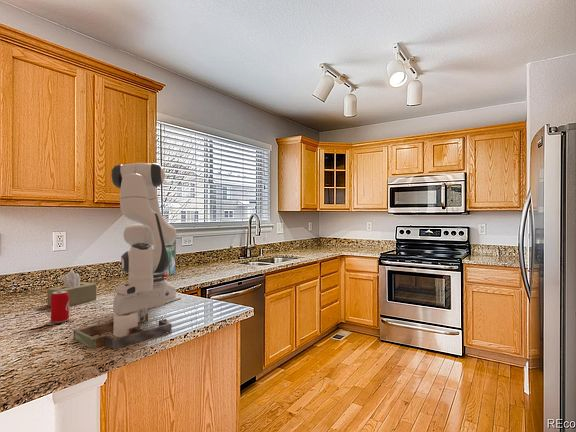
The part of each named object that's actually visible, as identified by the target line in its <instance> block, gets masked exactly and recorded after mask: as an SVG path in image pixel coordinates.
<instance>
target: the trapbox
mask: <svg viewBox="0 0 576 432" xmlns="http://www.w3.org/2000/svg"><path fill="white" fill-rule="evenodd" d="M141 314H142V313H139V316H141ZM148 320H149V312H147V314H146V316H145V320H144V321H140V322H138V324H139V323H143V322H147V321H148ZM167 321H168V320H167V318H163V319H160V320H158V323H157V325H158V326H155V327H152V328H148V329H141V328H142V327H141V326H140V325H138V326H137V327H133V328H130V329H129V335H127V336H123V337H117V338H115V337H112V336H110V335H107V334H105V335H101V336H96V337H93V335H97V334H100V333H105V332H110V331H113V326H114V320H111V321H107V322H102V323H99V324H95V325H90V326H86V327H82V328H77V329H74V330H73V340H75V341H77V342H79V343H81V344H83V345H84V346H87V347H88V348H90V349H92V350H93V349H96V348H99V347H103V346H106V347H108V348H110V349H112V350H116V349H120V348H122V347H125V346H129V345H133V344H136V343H140V342H142V341H146V340H149V339H152V337H153V338H155V336H156V337H159V336H162V335H165V334H164V333H166V334H168V333H167V332H169V333H171V332H170V331H172V325H173V324H172V323H170V322H167ZM161 334H162V335H161ZM158 335H159V336H158Z"/></svg>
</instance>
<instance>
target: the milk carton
mask: <svg viewBox="0 0 576 432" xmlns="http://www.w3.org/2000/svg"><path fill="white" fill-rule="evenodd" d="M176 240H177V239H176ZM176 240H175V242H174V243H173V244H171V245H166V246H165V247H166V250H167V253H168V257H169V266H168V268H167V269H166V270H165V271H164V272H162V273H164V274H165V273H166V274H169V276H172V275H174V274H176V256H177V255H176V254H177V252H176V247H177V245H176V244H177V241H176ZM173 273H174V274H173ZM171 274H172V275H171Z"/></svg>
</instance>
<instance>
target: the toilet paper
mask: <svg viewBox="0 0 576 432" xmlns="http://www.w3.org/2000/svg"><path fill="white" fill-rule="evenodd" d="M138 314H139V313H137V312H131V313H127V314H123V315H117V314H115V313H114V314H113V321H114V326H113V330H112V331H113V336H114V337H117V338H120V337H123V336H127V335H129V329H130V328H133V327H137V326H139V323H138Z"/></svg>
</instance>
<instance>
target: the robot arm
mask: <svg viewBox="0 0 576 432" xmlns="http://www.w3.org/2000/svg"><path fill="white" fill-rule="evenodd" d="M165 176H166V175H165V171H164V168H163V166H162V165H161V164H159V163H156V162H152V163H148V162H136V163H135V162H134V163H127V164H122V163H121V164H117V165H115V166H113V167H112V169H111V173H110V177H111V182H112V184H113V186H115V187H116V188H119V207H120V211H121V213H122V215H123V216H124V217H125V218H127V219H128V220H130V221H132V222H133V223H134V222H135V223H134V224H133V223H132V224H128V225H127V226H125V229H124V231H123V234H122V235H123V239H124V241H125V242H126V243H127V244H128V245H129V248H130V249H129V250H127V251H125V252H124V253H123V254H122V255H121V256H120V257H121V258H120V259H121V261H120V262H121V263H120V265H121V266H120V270H121V271H123V272H124V273H125V274H129V275H128V281H126V282H124V283H122V284H119V285H117V286H116V287H115V293H116V294H115V295H114V298H113V305H112V312H113V314H114V315H115V314H117V315H123V314H127V313H131V312H137V313H138V322H140V321H144V320H145V316H146V314H147V313H149V309H152V308H156V307H161V306H163V305H166V304H168V303H172V302H174V301H177V300H181V298H182V297H181V295H179V294H177V292H176V291H177V290H176V287H175V286H174V285H173V284H172V283H170V282H169V281H167V280H166V279H165V278H169V277H170V275H169V274H166V273H165V274H164V273H162V272H164V271H165V270H166V269H167V268H168V266H169V257H168V253H167V250H166V247H165V246H166V245H171V244H173V243H174V242H175V240H177V236H178V234H177V233H178V232H177V229H176V228H175V227H174V225H172V224H170V223H169V222H168V221H167V220H166V219H165V218H164V216H163V214H162V212H161V209H160V205H159V198H158V191H157V188H158V187H160V186H161V185H162V184H164V180H165ZM140 311H142V312H140ZM140 314H141V316H139V315H140ZM144 322H145V321H144ZM140 323H141V322H140Z"/></svg>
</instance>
